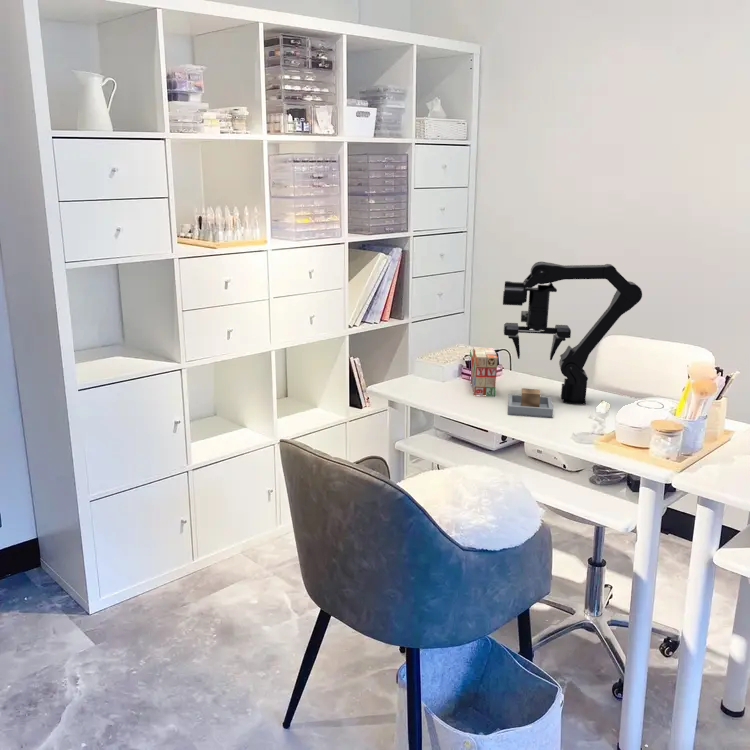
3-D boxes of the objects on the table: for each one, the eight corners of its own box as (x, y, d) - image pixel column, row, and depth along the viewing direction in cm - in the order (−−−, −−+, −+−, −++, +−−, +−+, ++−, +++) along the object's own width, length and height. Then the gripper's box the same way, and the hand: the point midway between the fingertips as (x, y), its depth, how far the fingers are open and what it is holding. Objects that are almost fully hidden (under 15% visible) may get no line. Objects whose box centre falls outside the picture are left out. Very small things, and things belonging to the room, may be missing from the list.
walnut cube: (538, 406, 219) (539, 389, 218) (539, 411, 215) (540, 394, 213) (520, 405, 220) (521, 388, 219) (520, 410, 215) (522, 393, 214)
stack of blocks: (468, 377, 251) (470, 340, 247) (487, 378, 250) (490, 341, 247) (474, 396, 230) (476, 356, 227) (495, 397, 230) (497, 356, 226)
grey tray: (550, 405, 222) (551, 396, 222) (552, 418, 211) (552, 409, 210) (508, 402, 224) (508, 394, 224) (507, 414, 213) (508, 406, 212)
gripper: (568, 303, 228) (564, 354, 232) (504, 300, 230) (501, 351, 234) (573, 309, 217) (568, 363, 221) (506, 307, 220) (502, 360, 224)
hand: (534, 359), depth 225 cm, fingers open, 9 cm apart
